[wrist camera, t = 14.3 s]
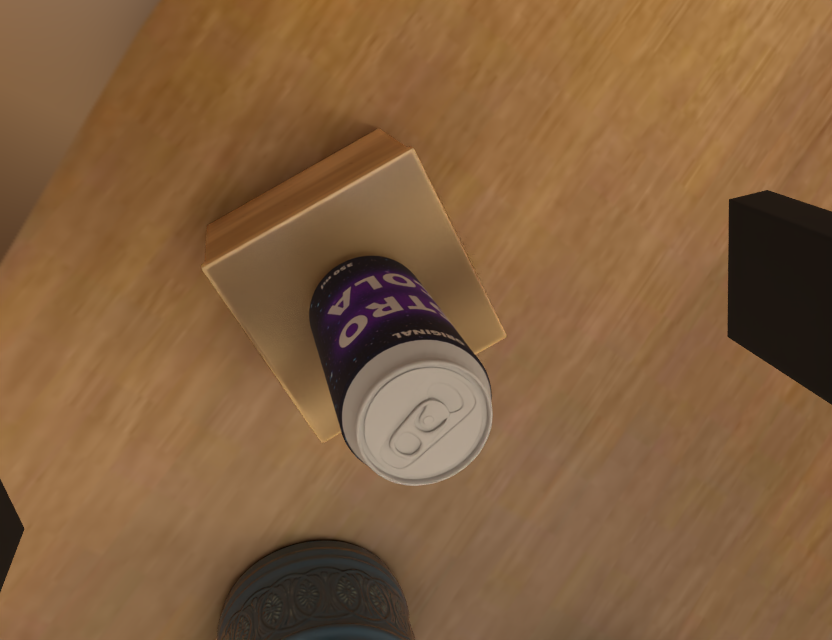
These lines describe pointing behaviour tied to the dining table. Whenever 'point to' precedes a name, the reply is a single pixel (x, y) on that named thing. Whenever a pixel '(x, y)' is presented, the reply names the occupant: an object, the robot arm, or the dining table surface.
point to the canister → (316, 597)
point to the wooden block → (338, 258)
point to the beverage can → (398, 373)
